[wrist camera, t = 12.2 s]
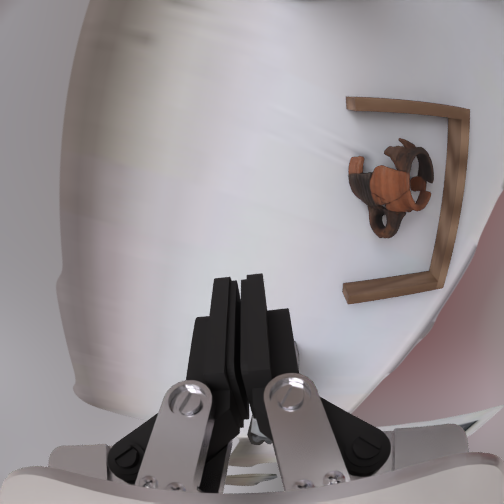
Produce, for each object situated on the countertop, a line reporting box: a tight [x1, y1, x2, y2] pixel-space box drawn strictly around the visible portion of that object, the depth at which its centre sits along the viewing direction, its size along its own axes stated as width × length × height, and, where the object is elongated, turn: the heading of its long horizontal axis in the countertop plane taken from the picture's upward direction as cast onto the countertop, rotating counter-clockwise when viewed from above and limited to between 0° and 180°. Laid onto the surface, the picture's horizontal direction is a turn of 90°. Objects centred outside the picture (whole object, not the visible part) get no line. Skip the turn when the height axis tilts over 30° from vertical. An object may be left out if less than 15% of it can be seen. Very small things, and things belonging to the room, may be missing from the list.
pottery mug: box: [349, 138, 434, 238], centre depth 33 cm, size 12×10×8 cm
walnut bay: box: [342, 97, 470, 304], centre depth 35 cm, size 27×16×3 cm, turn 6°
